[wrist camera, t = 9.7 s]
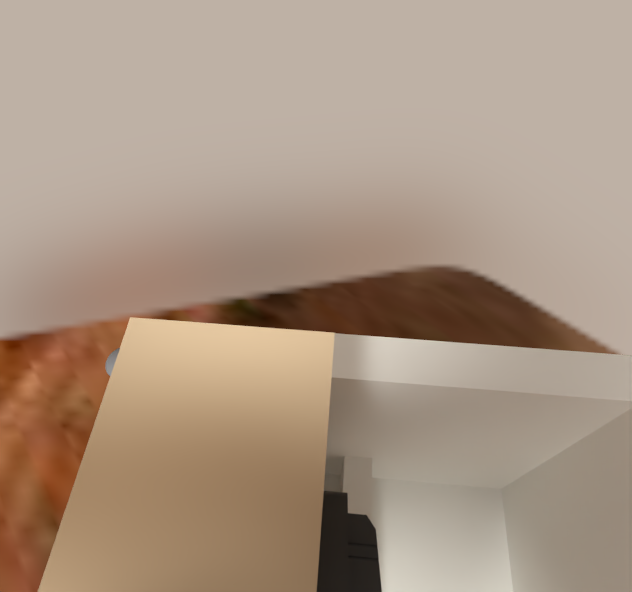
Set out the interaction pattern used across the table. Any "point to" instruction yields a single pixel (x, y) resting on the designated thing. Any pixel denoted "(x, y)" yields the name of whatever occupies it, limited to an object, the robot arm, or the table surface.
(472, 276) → the table surface
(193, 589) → the block
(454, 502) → the white open box
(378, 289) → the table surface
